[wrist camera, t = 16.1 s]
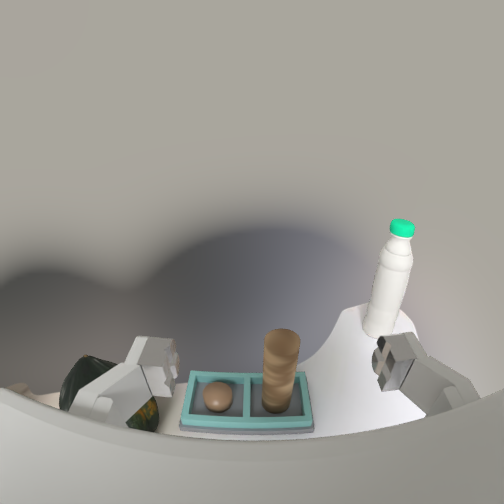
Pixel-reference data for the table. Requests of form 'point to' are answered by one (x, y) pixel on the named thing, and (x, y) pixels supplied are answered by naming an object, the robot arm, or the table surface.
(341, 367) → the table surface
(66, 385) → the squash
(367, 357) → the table surface
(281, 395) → the oak post
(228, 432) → the housing plate
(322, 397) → the table surface
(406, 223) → the water bottle
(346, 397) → the table surface
